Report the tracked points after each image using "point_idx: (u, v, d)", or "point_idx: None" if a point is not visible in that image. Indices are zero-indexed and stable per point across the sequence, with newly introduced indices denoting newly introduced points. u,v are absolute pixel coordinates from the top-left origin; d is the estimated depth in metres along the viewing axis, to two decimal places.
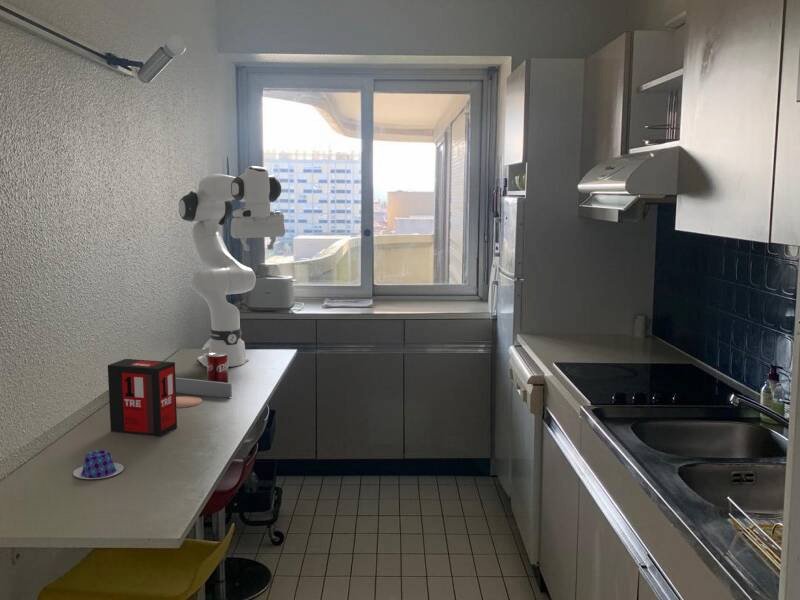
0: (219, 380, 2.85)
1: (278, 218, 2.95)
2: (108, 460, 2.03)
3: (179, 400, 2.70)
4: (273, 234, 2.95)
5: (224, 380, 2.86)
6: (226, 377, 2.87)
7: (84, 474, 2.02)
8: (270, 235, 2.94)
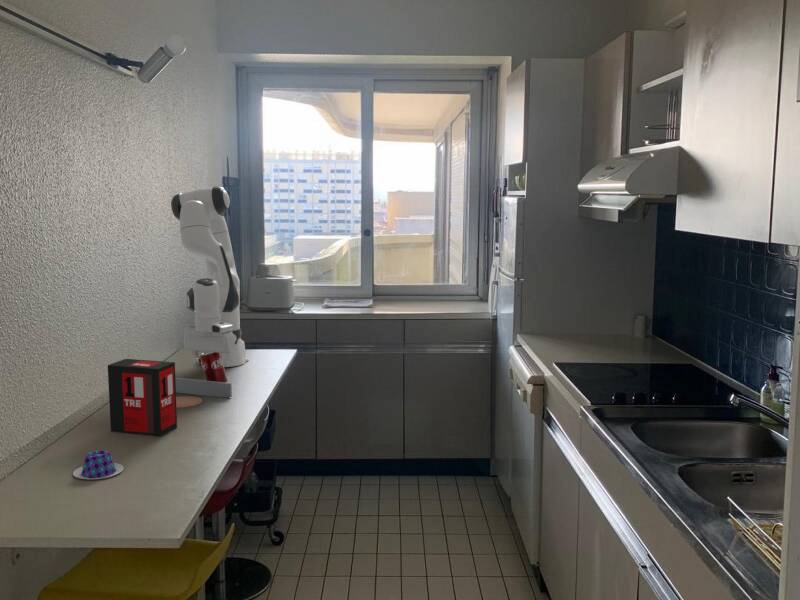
0: (216, 377, 2.85)
1: None
2: (108, 460, 2.03)
3: (179, 400, 2.70)
4: None
5: (221, 376, 2.86)
6: (223, 372, 2.87)
7: (84, 474, 2.02)
8: None
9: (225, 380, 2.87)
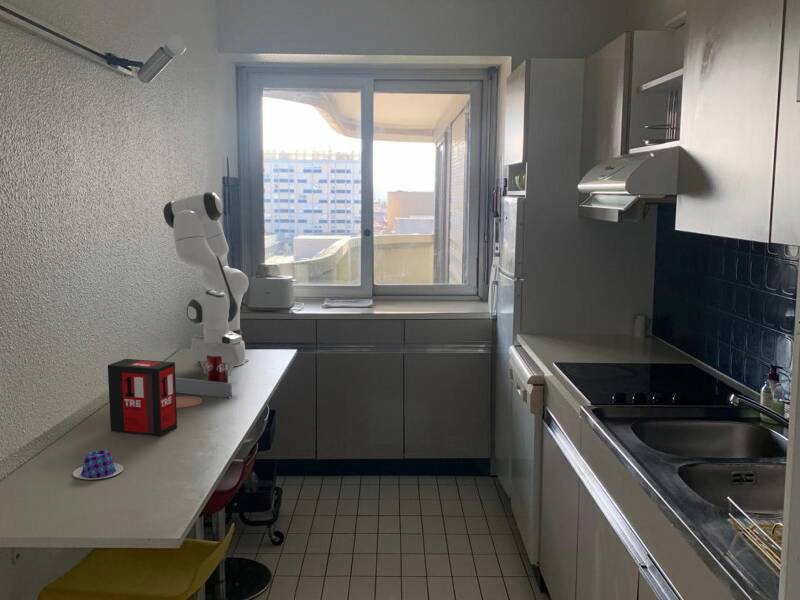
0: (219, 380, 2.85)
1: None
2: (108, 460, 2.03)
3: (179, 400, 2.70)
4: None
5: (224, 380, 2.86)
6: (226, 377, 2.87)
7: (84, 474, 2.02)
8: None
9: None
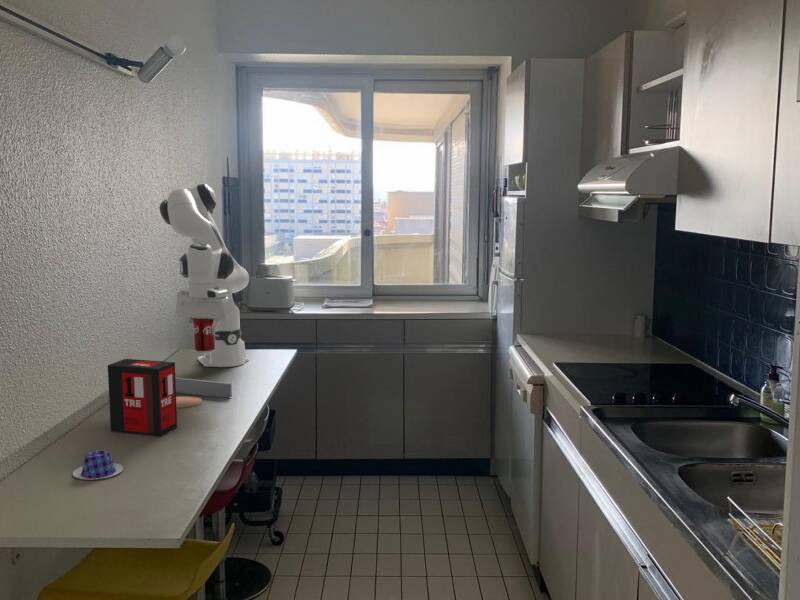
0: (206, 343, 2.77)
1: None
2: (107, 460, 2.03)
3: (179, 400, 2.70)
4: None
5: (211, 343, 2.78)
6: (213, 340, 2.79)
7: (83, 474, 2.02)
8: None
9: (213, 348, 2.79)
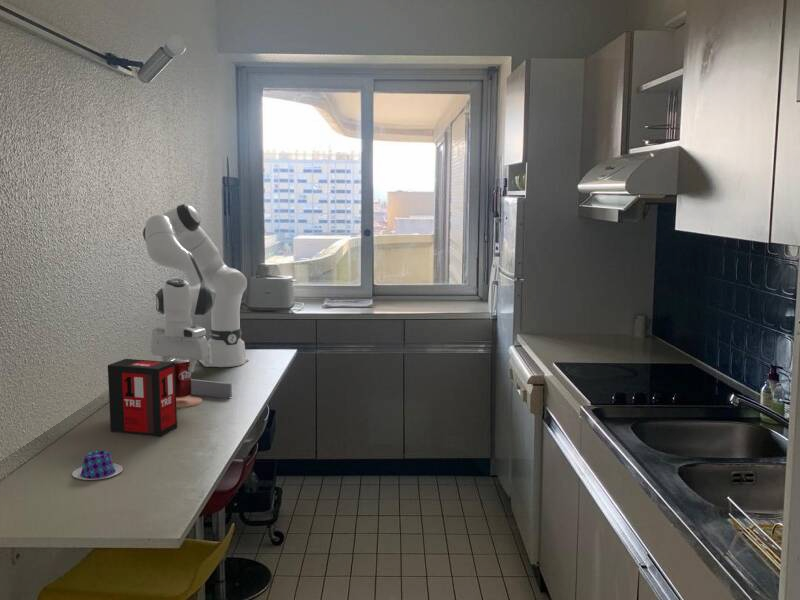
0: (181, 388, 2.64)
1: None
2: (107, 461, 2.03)
3: (179, 400, 2.70)
4: None
5: (187, 388, 2.66)
6: (189, 385, 2.67)
7: (83, 475, 2.01)
8: None
9: (189, 393, 2.67)
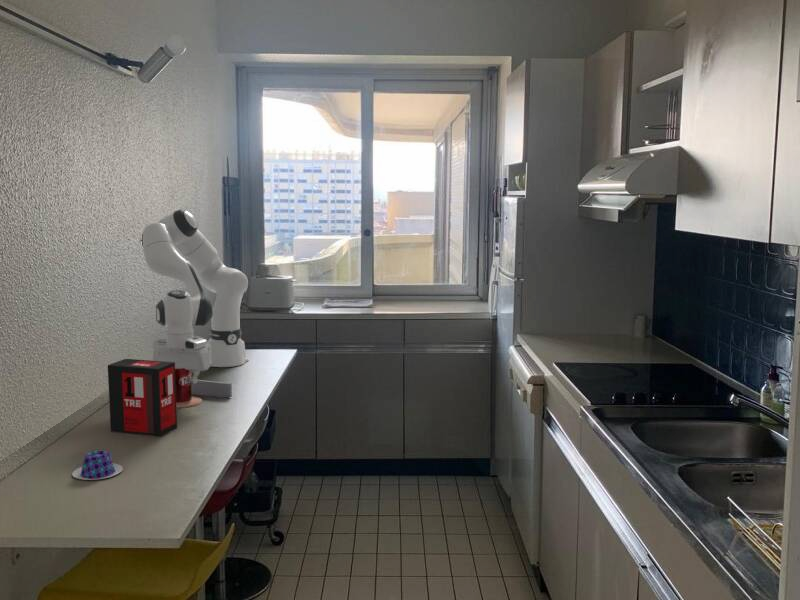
0: (182, 394, 2.65)
1: None
2: (108, 460, 2.03)
3: None
4: None
5: (187, 394, 2.66)
6: (190, 390, 2.67)
7: (84, 475, 2.01)
8: None
9: (190, 398, 2.67)
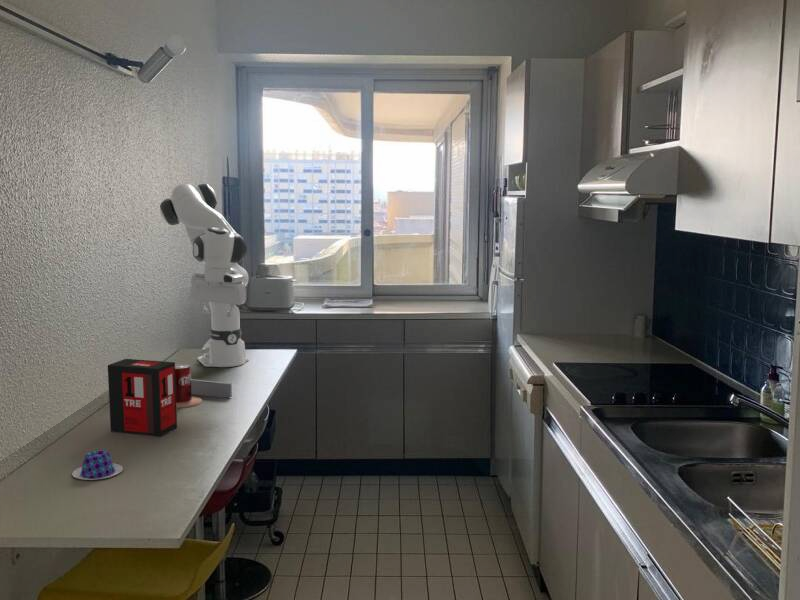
0: (181, 394, 2.65)
1: None
2: (108, 460, 2.03)
3: None
4: None
5: (187, 394, 2.66)
6: (189, 390, 2.67)
7: (84, 475, 2.01)
8: None
9: (190, 398, 2.67)
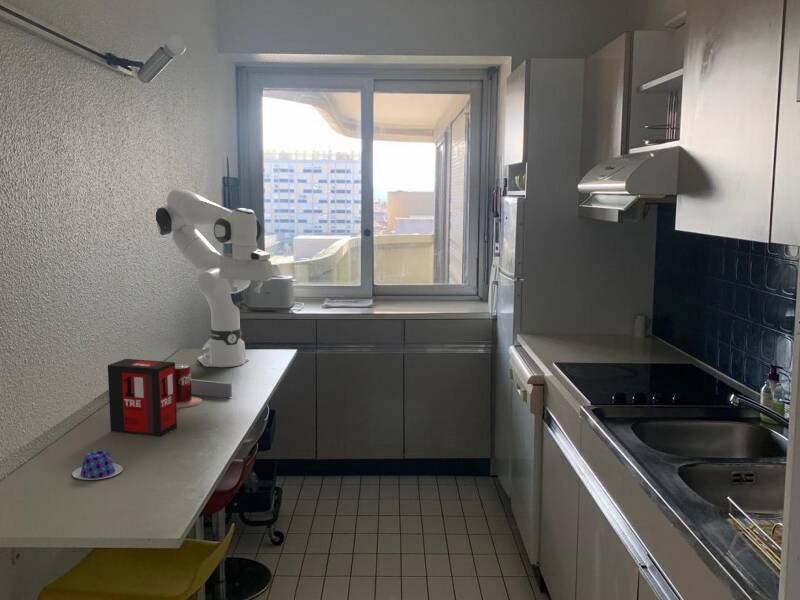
0: (181, 394, 2.65)
1: None
2: (109, 460, 2.03)
3: None
4: None
5: (187, 394, 2.66)
6: (189, 390, 2.67)
7: (85, 475, 2.01)
8: None
9: (190, 398, 2.67)
